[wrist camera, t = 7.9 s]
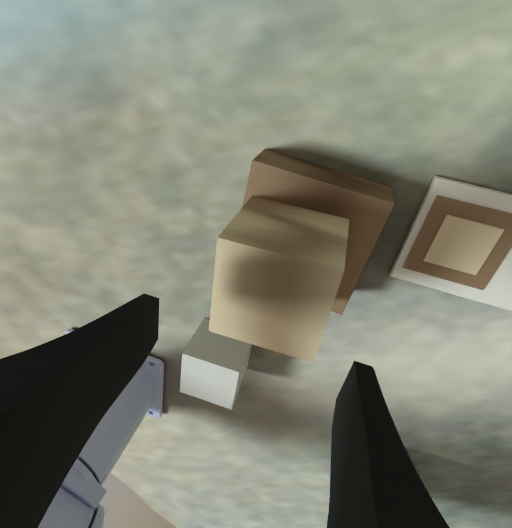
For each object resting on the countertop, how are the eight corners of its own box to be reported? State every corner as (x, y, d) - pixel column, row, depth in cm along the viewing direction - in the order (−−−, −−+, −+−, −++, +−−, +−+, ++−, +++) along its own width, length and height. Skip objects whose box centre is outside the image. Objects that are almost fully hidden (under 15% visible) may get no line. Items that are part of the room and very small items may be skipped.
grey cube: (200, 353, 29) (179, 391, 25) (205, 316, 27) (182, 353, 23) (247, 368, 28) (231, 409, 25) (255, 332, 26) (239, 372, 23)
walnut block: (242, 251, 23) (227, 275, 21) (266, 147, 19) (252, 160, 17) (344, 286, 23) (341, 314, 20) (390, 184, 19) (394, 203, 16)
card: (389, 272, 21) (390, 278, 20) (434, 175, 18) (436, 178, 17) (532, 313, 20) (536, 319, 19) (607, 217, 16) (615, 222, 16)
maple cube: (240, 275, 21) (208, 330, 16) (252, 195, 18) (217, 237, 14) (324, 299, 20) (313, 362, 16) (349, 219, 17) (344, 270, 13)
